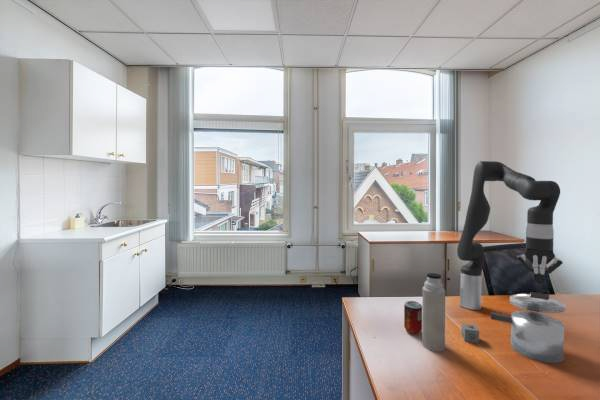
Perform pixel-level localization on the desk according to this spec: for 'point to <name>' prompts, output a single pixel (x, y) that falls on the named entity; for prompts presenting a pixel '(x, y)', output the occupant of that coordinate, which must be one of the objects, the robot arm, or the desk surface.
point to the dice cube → (470, 333)
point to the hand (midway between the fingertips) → (538, 283)
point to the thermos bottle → (433, 313)
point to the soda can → (413, 317)
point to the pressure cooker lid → (537, 303)
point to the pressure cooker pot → (535, 335)
